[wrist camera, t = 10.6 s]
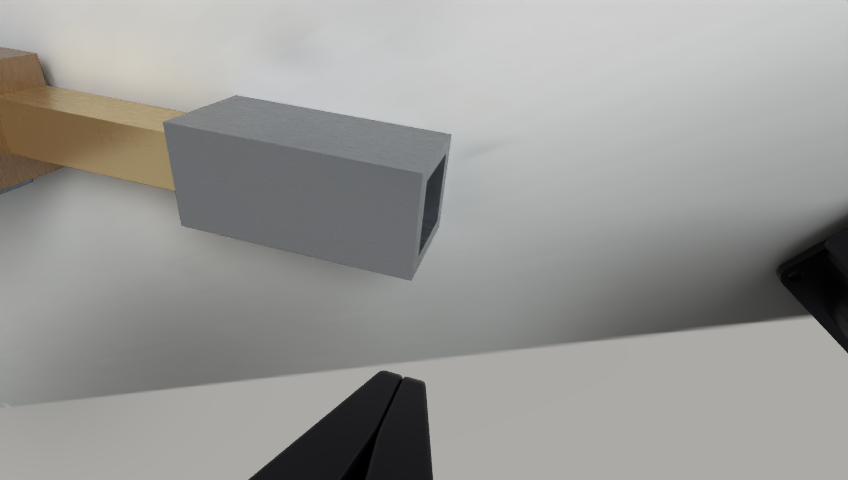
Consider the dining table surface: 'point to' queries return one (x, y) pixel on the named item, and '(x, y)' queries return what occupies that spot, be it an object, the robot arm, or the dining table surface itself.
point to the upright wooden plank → (75, 129)
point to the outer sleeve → (310, 182)
